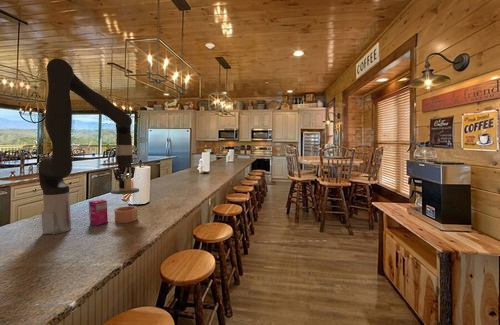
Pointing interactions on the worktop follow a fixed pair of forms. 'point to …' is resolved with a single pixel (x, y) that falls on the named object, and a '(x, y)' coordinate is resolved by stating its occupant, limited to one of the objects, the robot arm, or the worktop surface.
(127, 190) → the lid
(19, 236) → the worktop surface
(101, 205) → the supplement box
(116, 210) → the bowl
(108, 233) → the worktop surface
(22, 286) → the worktop surface
